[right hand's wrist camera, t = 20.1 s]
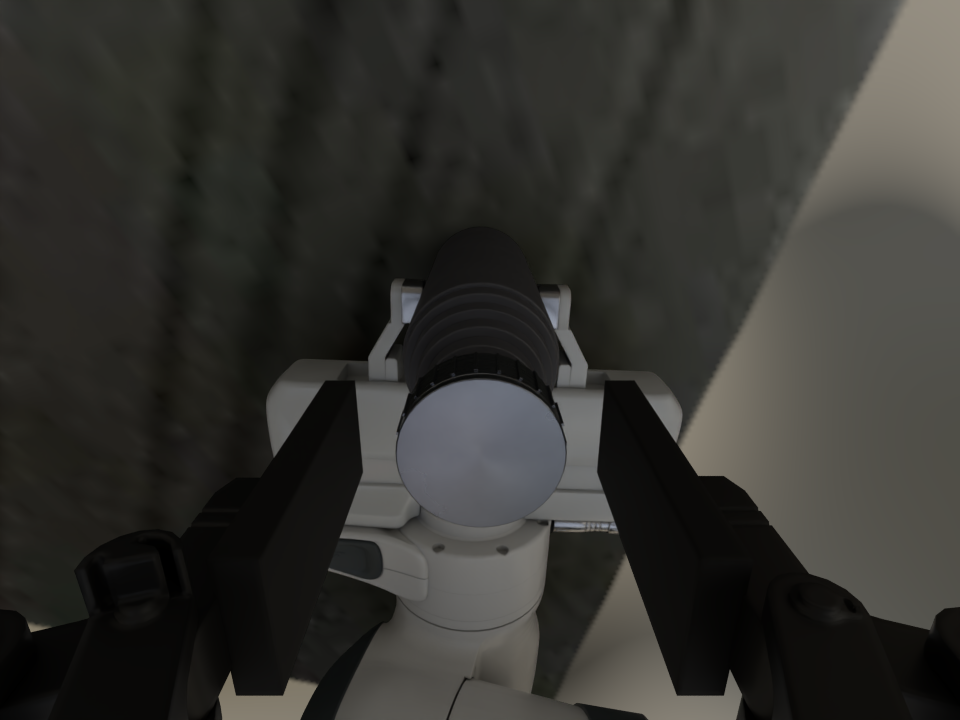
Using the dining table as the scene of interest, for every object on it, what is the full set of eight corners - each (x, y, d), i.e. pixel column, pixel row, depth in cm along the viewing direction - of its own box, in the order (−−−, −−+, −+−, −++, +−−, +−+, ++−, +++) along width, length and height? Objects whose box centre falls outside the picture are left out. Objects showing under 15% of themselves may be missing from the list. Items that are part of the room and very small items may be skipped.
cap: (489, 317, 14) (490, 340, 12) (590, 430, 15) (604, 464, 13) (369, 417, 15) (356, 449, 13) (473, 516, 16) (473, 557, 14)
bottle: (464, 336, 33) (445, 566, 15) (415, 258, 31) (325, 410, 13) (544, 291, 32) (629, 478, 14) (497, 208, 30) (523, 298, 12)
